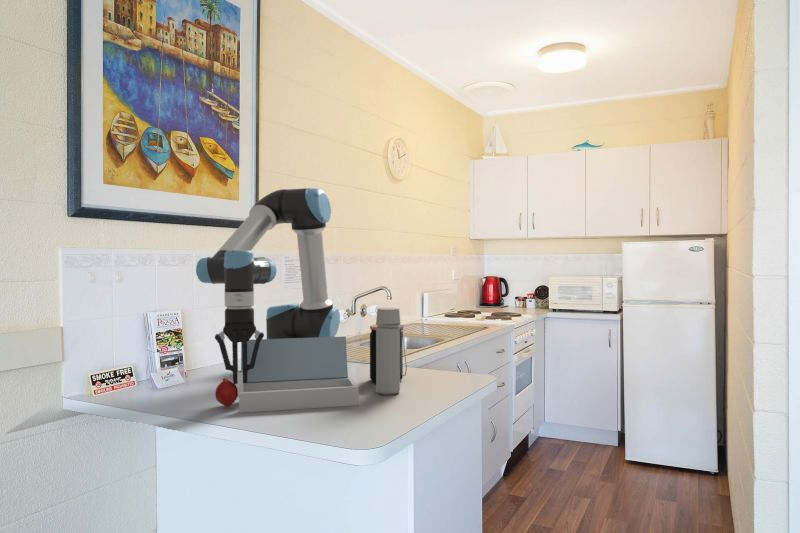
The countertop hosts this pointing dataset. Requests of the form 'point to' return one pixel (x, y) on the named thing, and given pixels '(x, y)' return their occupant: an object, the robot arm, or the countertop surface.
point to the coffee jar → (373, 353)
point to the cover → (297, 359)
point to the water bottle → (388, 351)
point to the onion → (226, 393)
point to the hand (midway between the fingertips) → (240, 395)
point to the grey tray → (298, 395)
